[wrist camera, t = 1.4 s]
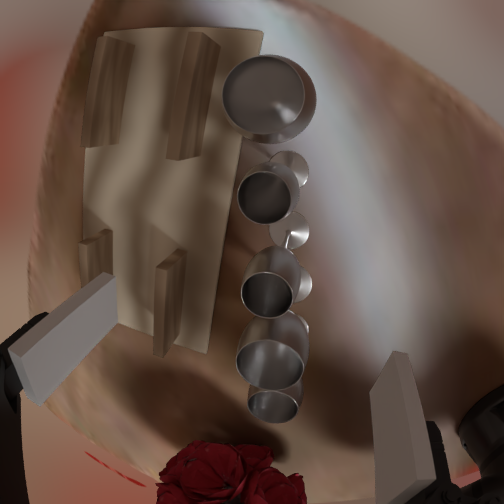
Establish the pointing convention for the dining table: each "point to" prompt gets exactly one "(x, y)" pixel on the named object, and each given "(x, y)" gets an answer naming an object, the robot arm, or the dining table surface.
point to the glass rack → (161, 174)
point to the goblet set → (273, 231)
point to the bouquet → (227, 477)
